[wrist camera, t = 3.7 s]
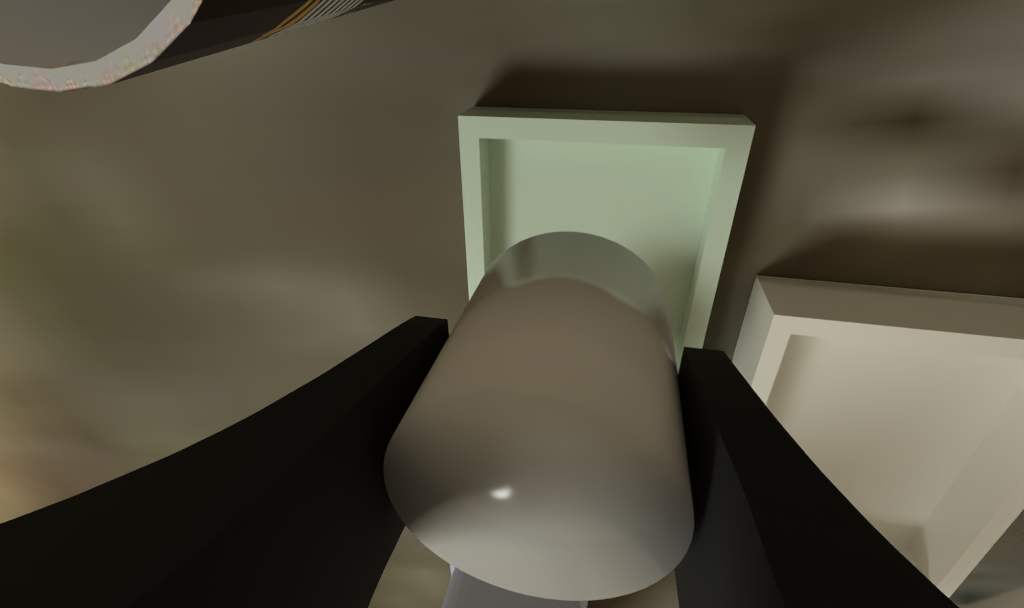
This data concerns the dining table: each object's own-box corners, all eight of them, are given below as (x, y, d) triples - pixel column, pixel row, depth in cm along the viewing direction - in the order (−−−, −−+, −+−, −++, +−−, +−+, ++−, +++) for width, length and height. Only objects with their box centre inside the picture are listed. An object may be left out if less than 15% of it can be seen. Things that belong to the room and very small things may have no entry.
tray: (674, 422, 20) (677, 451, 19) (486, 395, 22) (476, 421, 20) (744, 114, 14) (755, 125, 12) (473, 106, 15) (458, 115, 14)
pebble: (655, 407, 11) (666, 625, 7) (480, 384, 11) (403, 567, 8) (687, 240, 9) (728, 420, 5) (470, 223, 9) (358, 369, 6)
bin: (911, 545, 21) (942, 605, 19) (690, 506, 22) (695, 558, 20) (1080, 303, 14) (1155, 352, 12) (756, 275, 16) (774, 315, 14)
